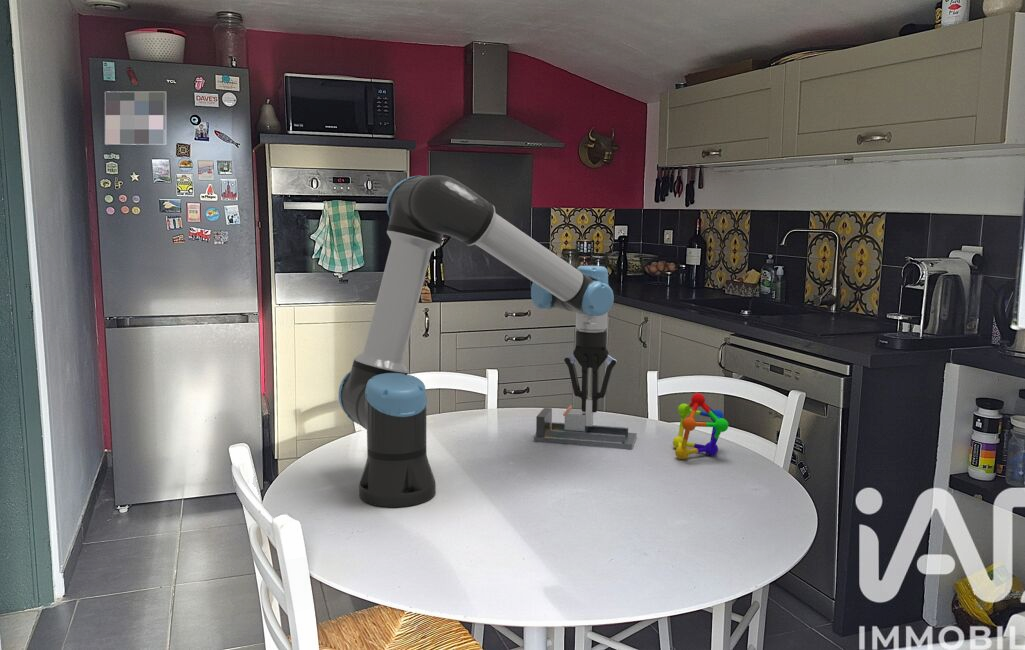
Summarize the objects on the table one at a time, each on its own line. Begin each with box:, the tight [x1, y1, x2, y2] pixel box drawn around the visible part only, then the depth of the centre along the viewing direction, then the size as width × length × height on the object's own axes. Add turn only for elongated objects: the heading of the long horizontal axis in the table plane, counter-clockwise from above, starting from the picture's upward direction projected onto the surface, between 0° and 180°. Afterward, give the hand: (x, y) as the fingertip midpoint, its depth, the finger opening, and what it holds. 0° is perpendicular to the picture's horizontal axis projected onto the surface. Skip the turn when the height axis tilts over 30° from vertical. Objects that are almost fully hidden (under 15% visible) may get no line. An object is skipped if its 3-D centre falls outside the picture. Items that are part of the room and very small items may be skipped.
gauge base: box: [533, 407, 638, 450], centre depth 201 cm, size 24×10×6 cm, turn 76°
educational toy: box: [672, 392, 729, 460], centre depth 190 cm, size 16×13×15 cm
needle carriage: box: [562, 404, 588, 433], centre depth 202 cm, size 5×9×6 cm, turn 166°
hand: (589, 424), depth 201 cm, fingers closed
